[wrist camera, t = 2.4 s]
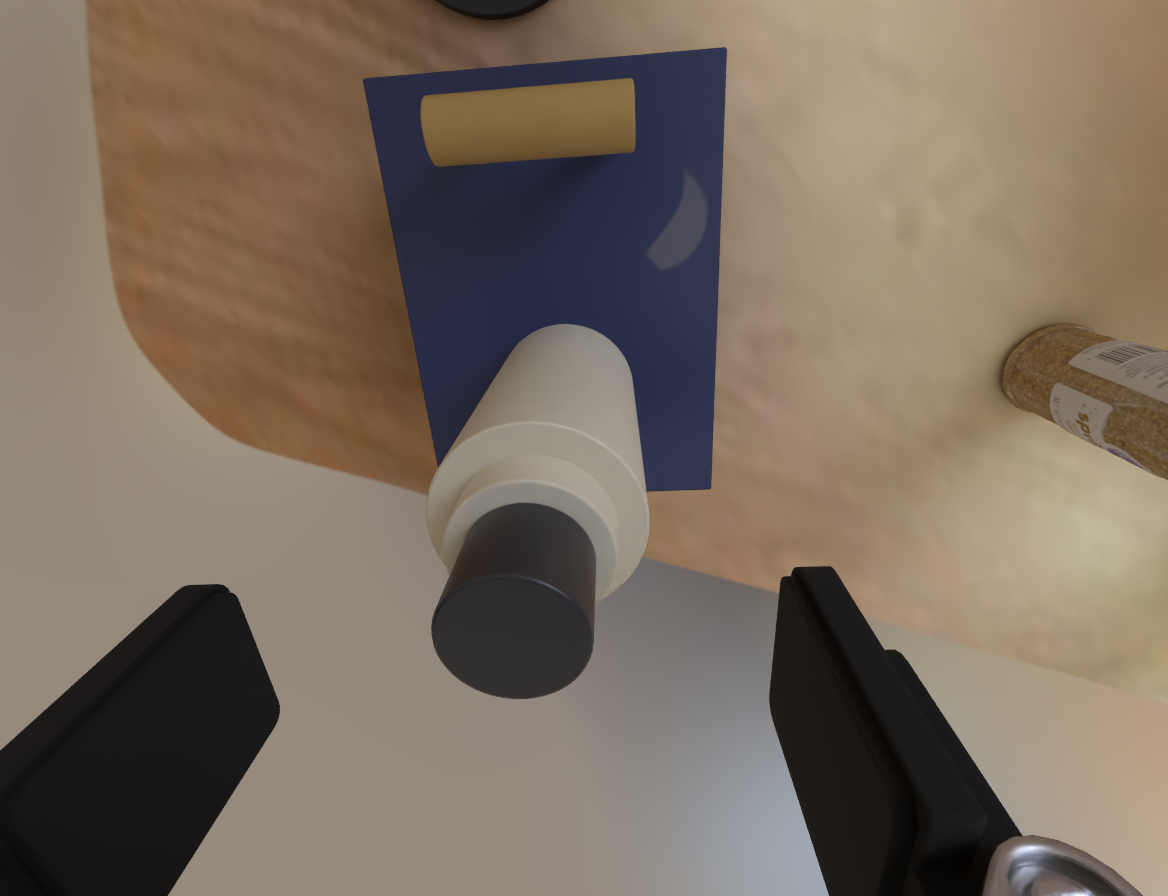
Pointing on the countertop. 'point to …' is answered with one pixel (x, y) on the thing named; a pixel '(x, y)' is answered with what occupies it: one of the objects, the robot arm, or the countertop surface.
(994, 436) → the countertop surface
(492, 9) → the coaster
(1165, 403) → the sprinkles bottle
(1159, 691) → the countertop surface
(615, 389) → the bottle
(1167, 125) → the countertop surface
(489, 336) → the case lid
